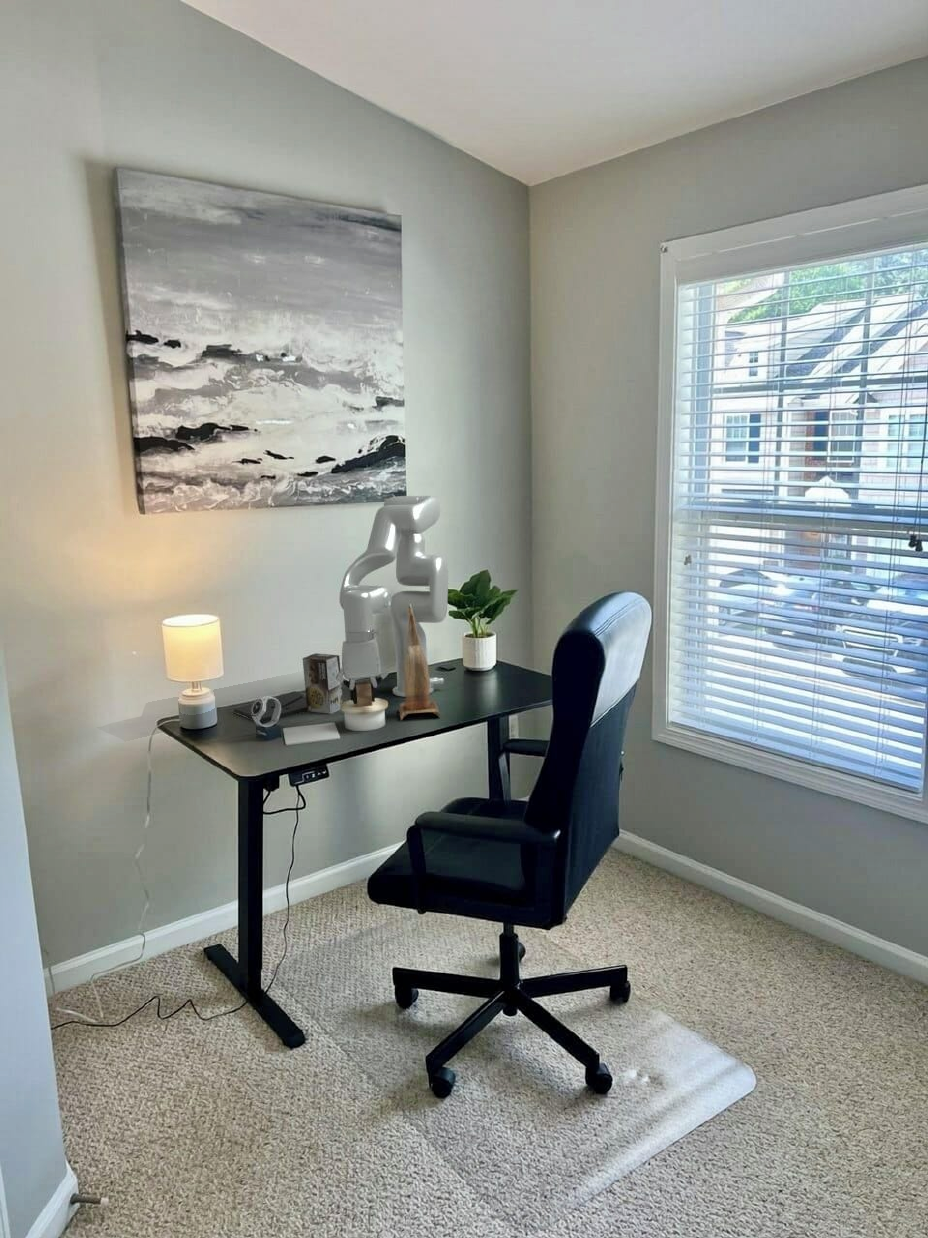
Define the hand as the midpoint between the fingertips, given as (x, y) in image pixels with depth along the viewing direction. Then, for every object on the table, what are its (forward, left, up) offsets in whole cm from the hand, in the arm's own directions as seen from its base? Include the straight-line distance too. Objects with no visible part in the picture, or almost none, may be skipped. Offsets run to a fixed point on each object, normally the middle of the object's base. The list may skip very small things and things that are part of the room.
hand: (363, 701), depth 243 cm
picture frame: (+22, -24, -8) cm, 34 cm away
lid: (0, 0, -2) cm, 2 cm away
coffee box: (+9, -19, -7) cm, 22 cm away
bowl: (0, 0, -7) cm, 7 cm away
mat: (+15, +3, -7) cm, 17 cm away
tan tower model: (-16, -4, -7) cm, 18 cm away
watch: (+26, +1, -7) cm, 27 cm away
